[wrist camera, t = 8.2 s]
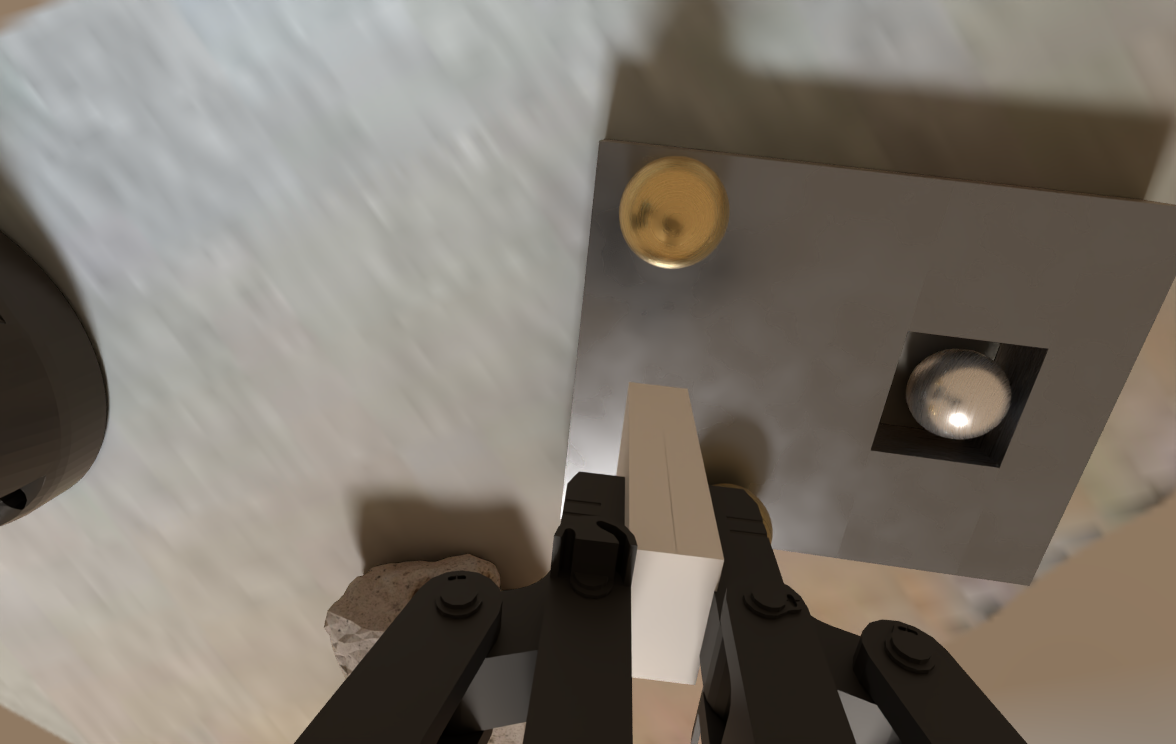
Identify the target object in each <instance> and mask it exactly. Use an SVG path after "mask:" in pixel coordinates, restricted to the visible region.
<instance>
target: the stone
mask: <svg viewBox="0 0 1176 744" xmlns="http://www.w3.org/2000/svg"><path fill="white" fill-rule="evenodd" d="M461 570H464V571H471V572H477V573H480V574H482V575H484V576H486V577H488V578H490V579H492V580H493V582H494V583H495V584H496V585H497V586H498V587H500V574H499V573H498V571H497V568H496V566H495V565H494V564H492V563H491V562H489V561H486V560H483V559H481V558H478V557H475V556H472V555H470V554H465V555H460V556H453V557H448V558H445V559H442V560H440V561H437V562H427V561H423V560H417V561H408V562H402V563H389V564H384V565H380V566H376V567H373V568H371V569H370V570H369V572H368V573H367V574H365V575H363V576H358V577H356V578H355V579H354V580H353V581H352V582H351V583H350V584H349V586H348V588H347V589H346V591H345V593H344V595H343V596H342V597H341V598H340V599H339V600H338V601H336V602H335V603H334V604H333V605H332V606H331V607H330V609H329V610H328V612H327V616H326V620H325V625H324V628H325V630H326V631H327V632H328V634H329V635H330V639H331V644H332V647H333V651H334V654H335V656H336V659H337V661H338V663H339V665H340V668H341V670H342V672H343V674H344V676H345V678H346V679H347V677H348V676H349V675H350V674H351V672H352V671H353V670H354V669H355V668H356V666H357V665H358V664H359V663H360V661H361V660H362V659H363V658H364V656H365V655H366V654H367V653H368V652H369V650H370V649H371V648H372V647H373V645H374V644H375V643H376V642H377V640H378V639H379V638H380V637H381V635H382V634H383V633H384V632H385V631H386V629H387V628H388V627H389V626H390V624H391V623H392V622H393V621H394V619H395V618H396V617H397V616H398V615H399V613H400V612H401V611H402V610H403V608H404V607H405V606H406V605H407V603H408V602H409V601H410V600H411V598H412V597H413V596H414V595H415V594H416V592H417V591H418V590H419V589H420V588H421V587H422V586H423V585H424V584H425V583H426V582H428V581H429V580H430V579H431V578H433V577H436V576H438V575H441V574H443V573H446V572H452V571H461ZM500 591H502V590H501V589H500ZM525 726H526V722H523V723H518V724H513V725H508V726H503V727H498V728H493V732H492V735H491V737H490V739H489V741H488V743H487V744H523V738H524V732H525Z"/></svg>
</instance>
